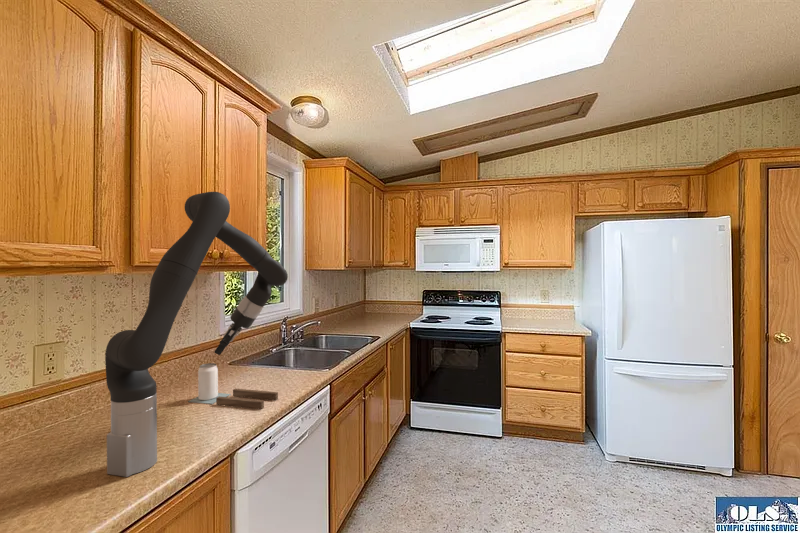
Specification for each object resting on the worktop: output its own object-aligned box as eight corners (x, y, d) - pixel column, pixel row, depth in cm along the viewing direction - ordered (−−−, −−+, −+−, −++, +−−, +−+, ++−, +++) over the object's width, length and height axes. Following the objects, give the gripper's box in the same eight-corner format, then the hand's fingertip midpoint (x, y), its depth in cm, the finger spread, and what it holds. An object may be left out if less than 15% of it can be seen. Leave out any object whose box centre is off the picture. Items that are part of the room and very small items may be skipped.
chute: (261, 409, 128) (261, 402, 128) (216, 405, 132) (216, 397, 132) (278, 399, 138) (278, 392, 138) (235, 395, 142) (235, 388, 142)
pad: (211, 404, 133) (211, 403, 133) (188, 402, 135) (188, 401, 135) (230, 394, 143) (230, 394, 143) (208, 392, 145) (208, 391, 145)
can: (209, 401, 135) (209, 368, 135) (194, 400, 136) (193, 367, 136) (221, 395, 141) (221, 363, 141) (207, 394, 143) (207, 362, 143)
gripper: (242, 301, 137) (217, 337, 137) (232, 310, 123) (204, 350, 124) (260, 312, 139) (235, 347, 139) (252, 322, 125) (224, 362, 125)
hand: (220, 349), depth 131 cm, fingers open, 8 cm apart
